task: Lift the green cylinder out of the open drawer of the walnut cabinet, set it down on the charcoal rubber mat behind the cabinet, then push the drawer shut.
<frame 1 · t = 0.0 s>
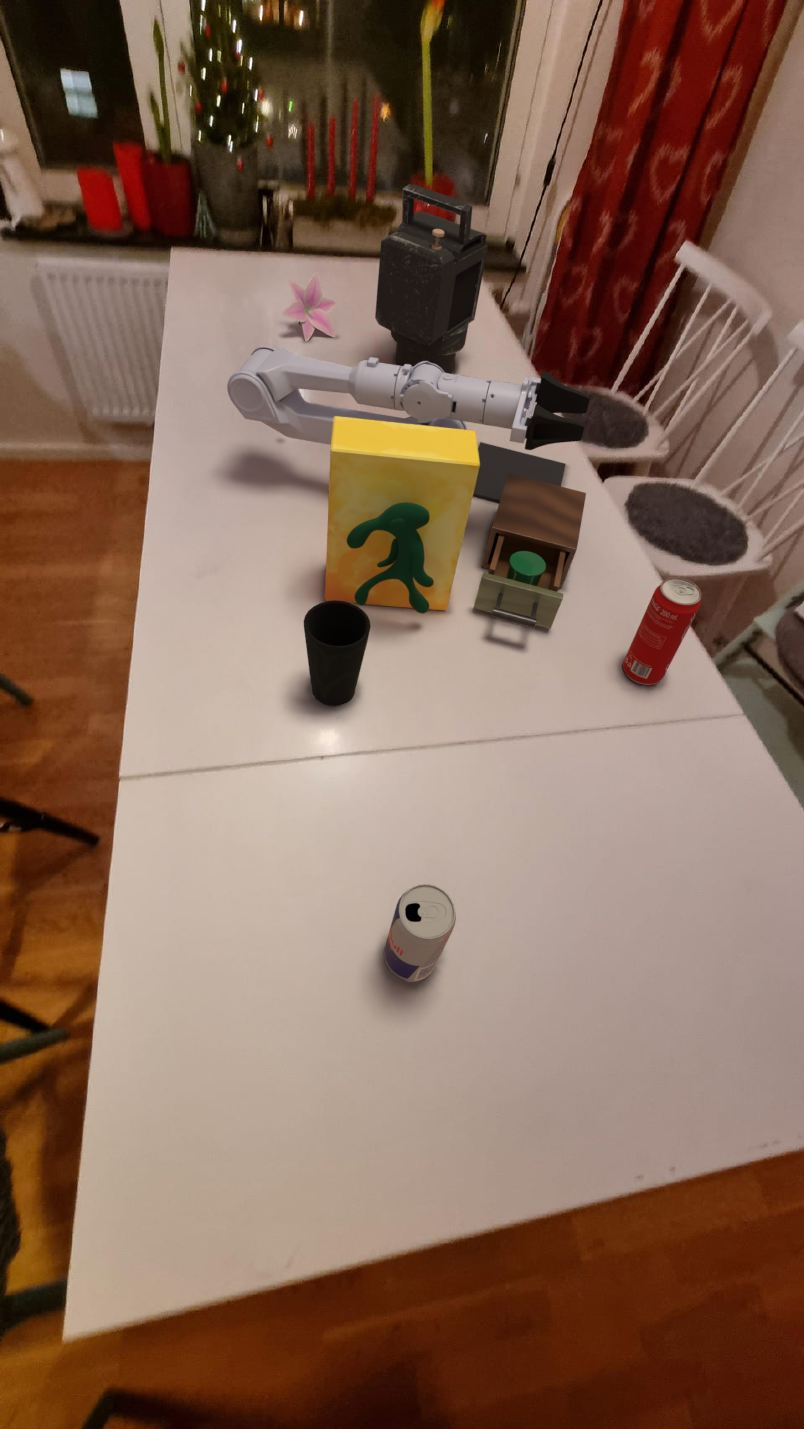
hand: (585, 418, 95), 22 cm above the table, tool horizontal, fingers open, 7 cm apart
lily: (309, 333, 146), on the table
drawer: (521, 583, 100), point 4 cm above the table, slide at 9.0 cm, touching green cylinder
cup: (333, 690, 89), on the table
cabinet: (528, 549, 111), on the table
mottled yellow carton: (386, 602, 100), on the table
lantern: (420, 367, 143), on the table
energy drink: (409, 956, 70), on the table
mat: (515, 479, 122), on the table
green cylinder: (519, 587, 102), point 2 cm above the table, touching drawer
beverage can: (638, 671, 98), on the table
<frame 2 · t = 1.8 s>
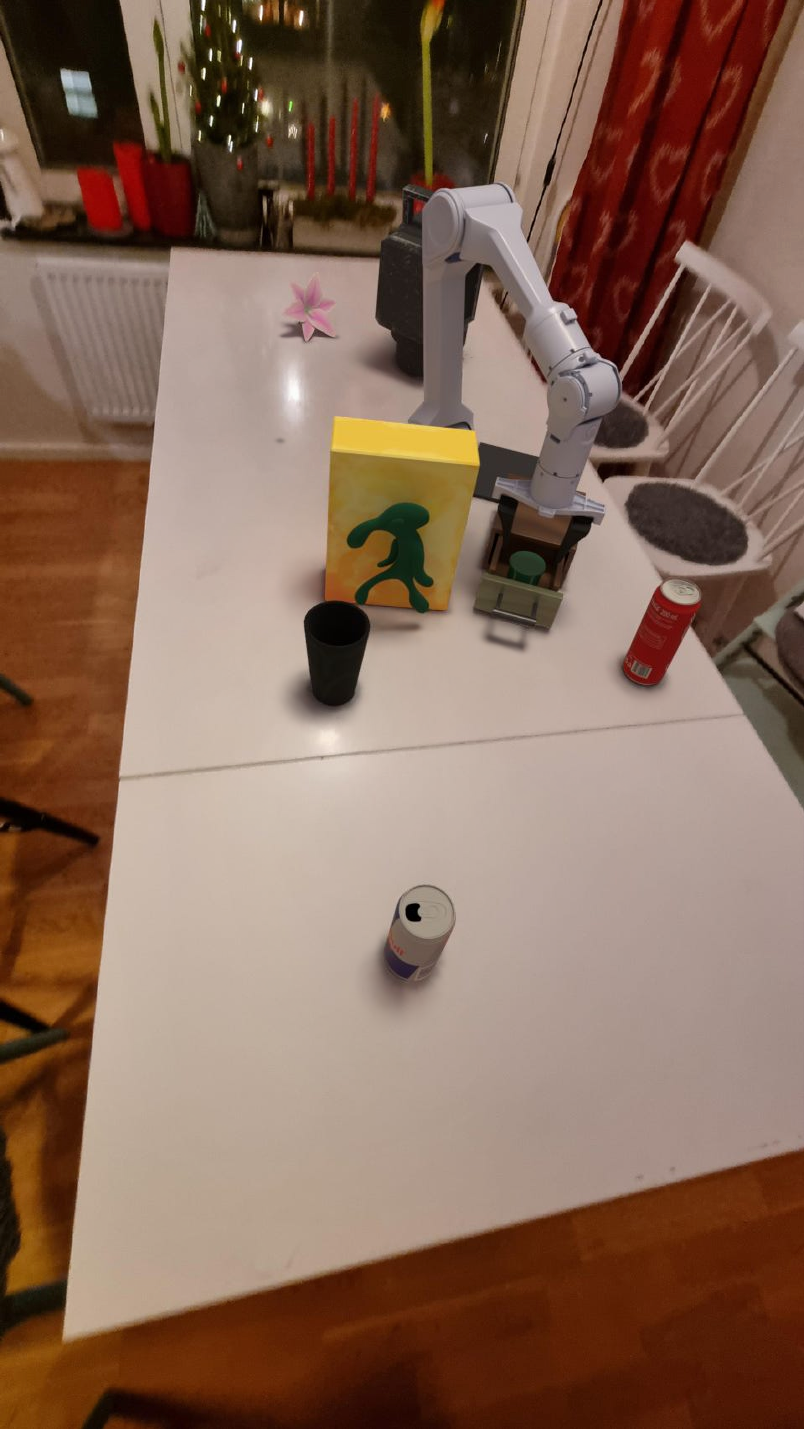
hand: (532, 551, 97), 9 cm above the table, tool pointing down, fingers open, 7 cm apart
nothing on the table moved.
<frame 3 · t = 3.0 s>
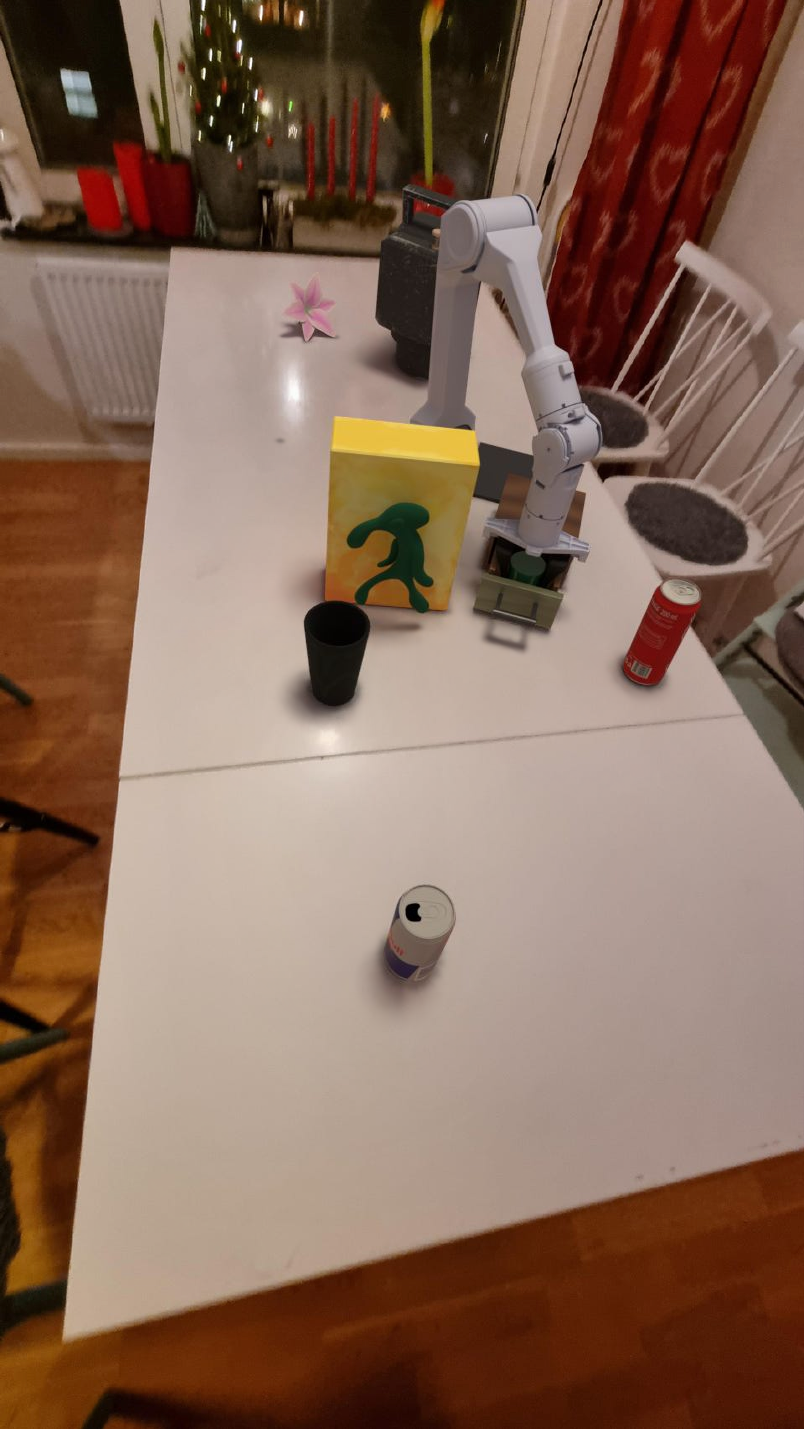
hand: (521, 585, 102), 3 cm above the table, tool pointing down, fingers closed on drawer, green cylinder, 5 cm apart
drawer: (521, 583, 100), point 4 cm above the table, slide at 9.0 cm, touching gripper, green cylinder
green cylinder: (520, 587, 102), point 2 cm above the table, touching drawer, gripper
everything else where it was.
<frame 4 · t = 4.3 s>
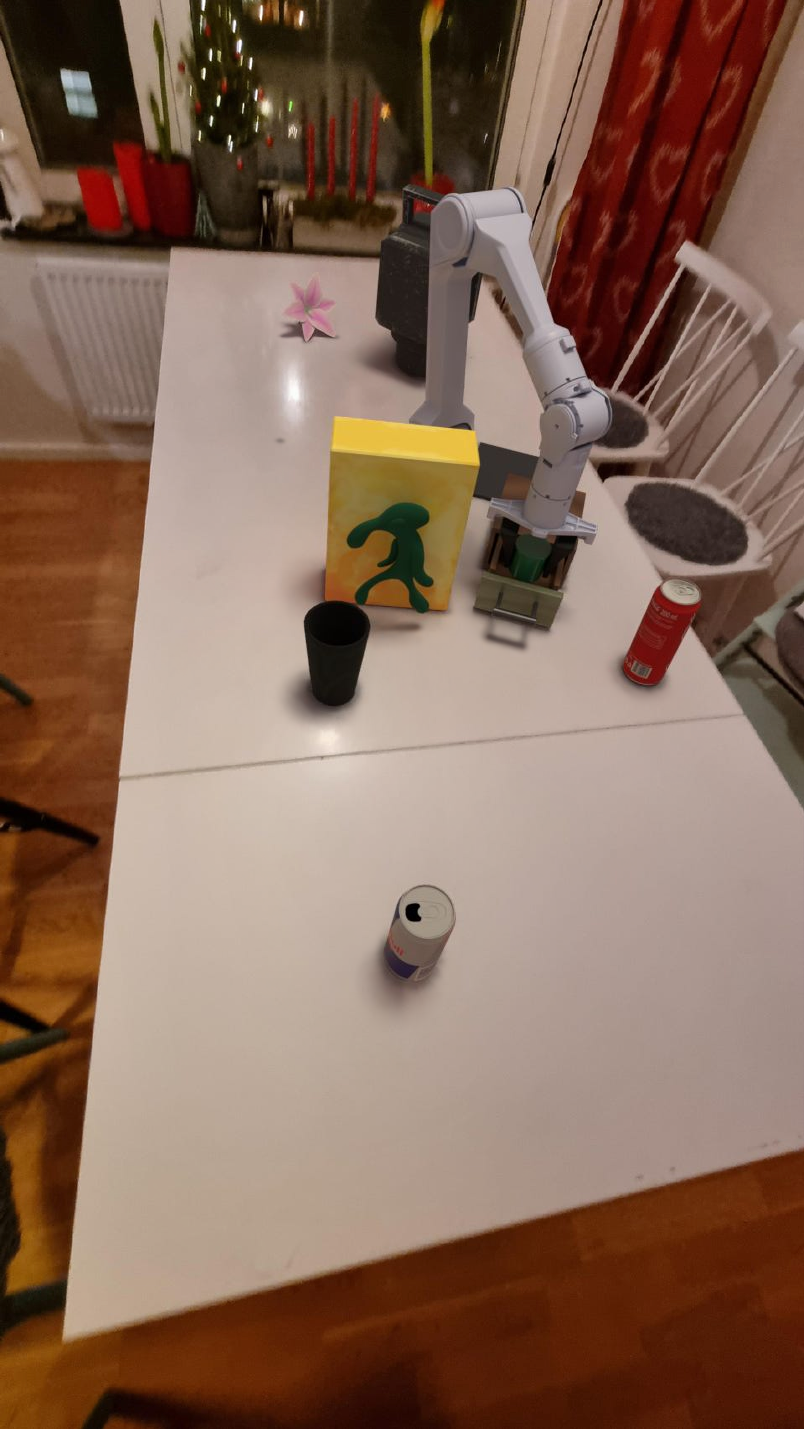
hand: (525, 568, 99), 6 cm above the table, tool pointing down, fingers closed on green cylinder, 5 cm apart
drawer: (521, 582, 100), point 4 cm above the table, slide at 8.8 cm
green cylinder: (524, 570, 100), point 5 cm above the table, touching gripper
everything else where it was.
when the fingers open (1 cm above the table, at t = 10.2 s): green cylinder stays where it is, resting on mat.
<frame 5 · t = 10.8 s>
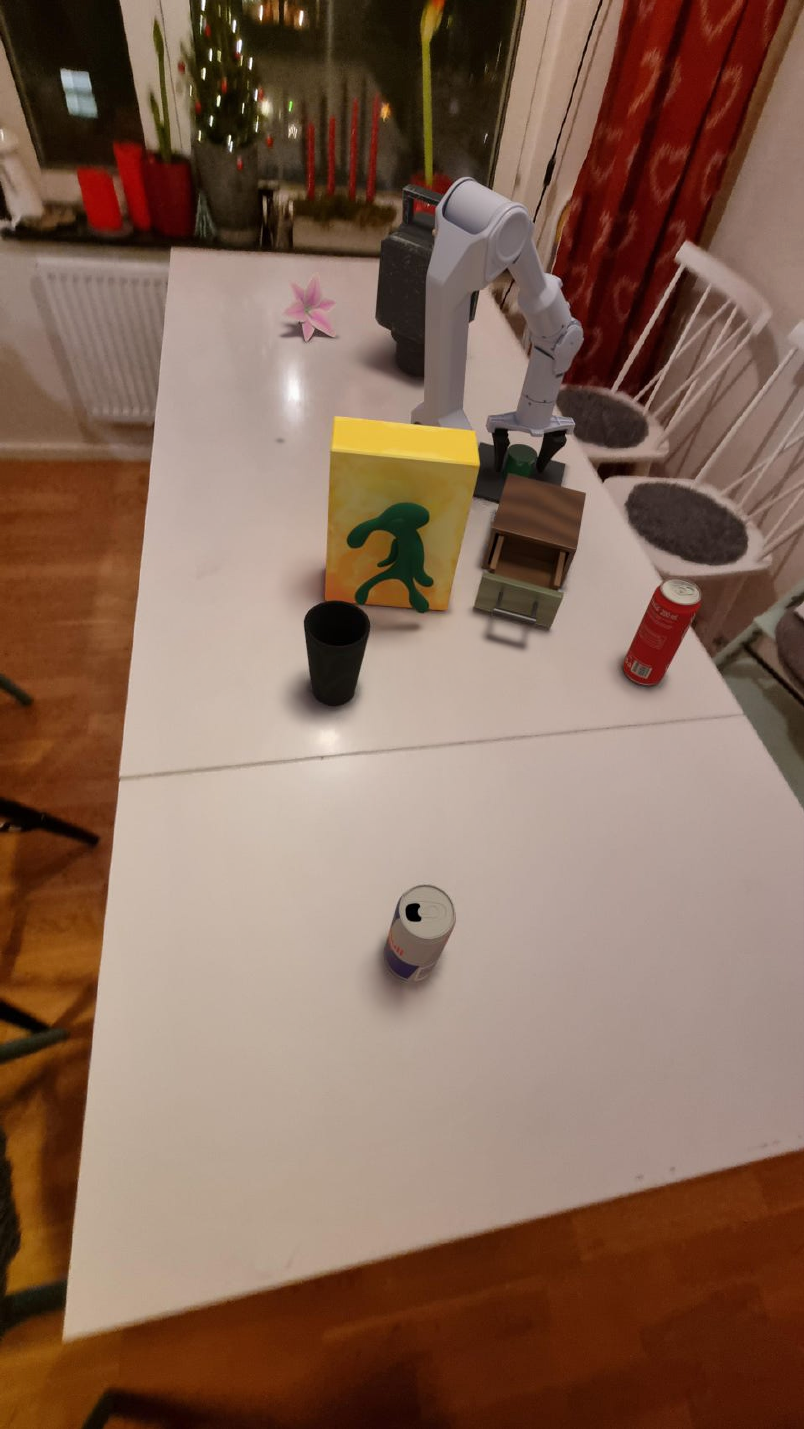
hand: (518, 469, 120), 2 cm above the table, tool pointing down, fingers open, 7 cm apart
green cylinder: (515, 476, 122), point 1 cm above the table, touching mat
everything else where it was.
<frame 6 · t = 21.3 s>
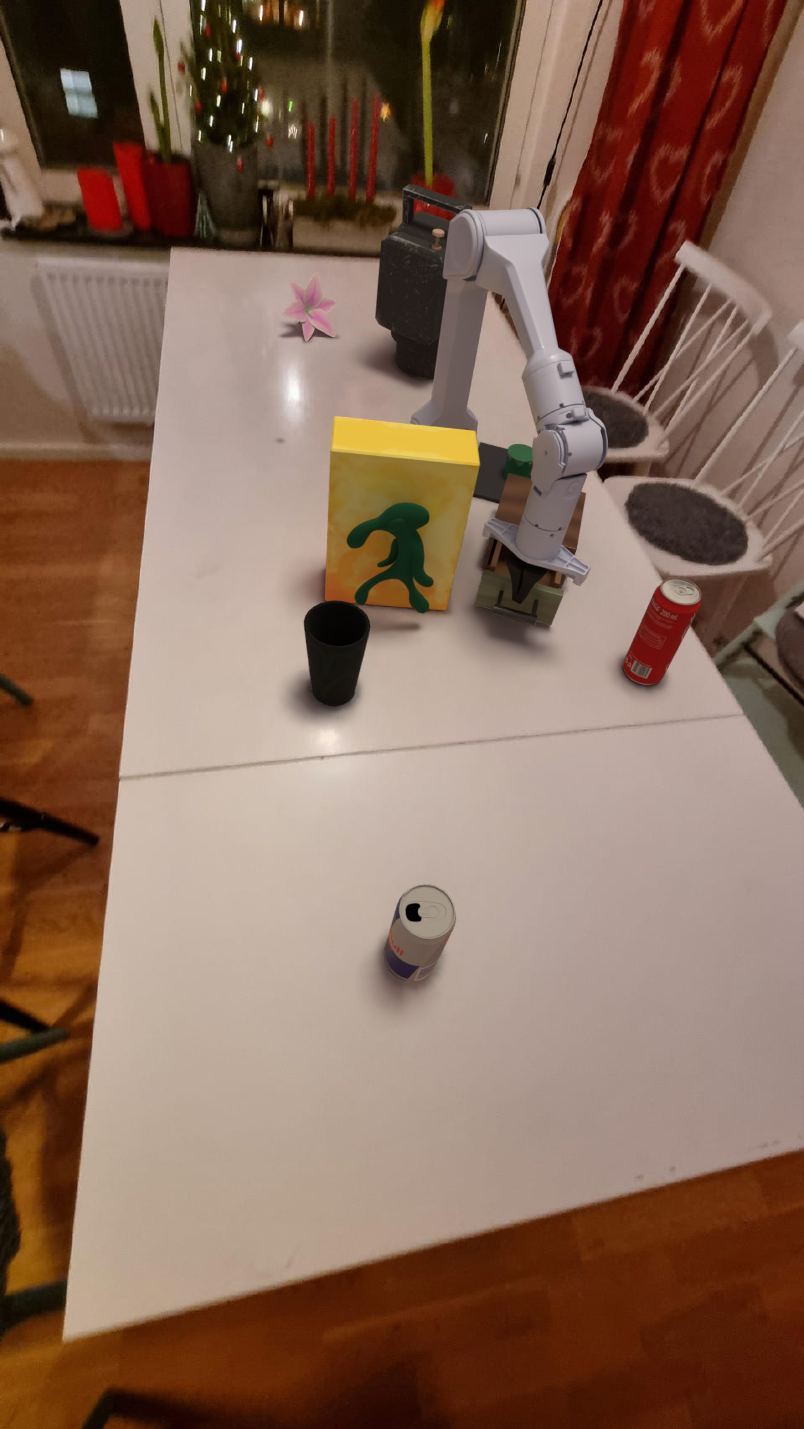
hand: (519, 598, 95), 6 cm above the table, tool pointing down, fingers closed
drawer: (522, 580, 100), point 4 cm above the table, slide at 8.3 cm, touching gripper
everything else where it was.
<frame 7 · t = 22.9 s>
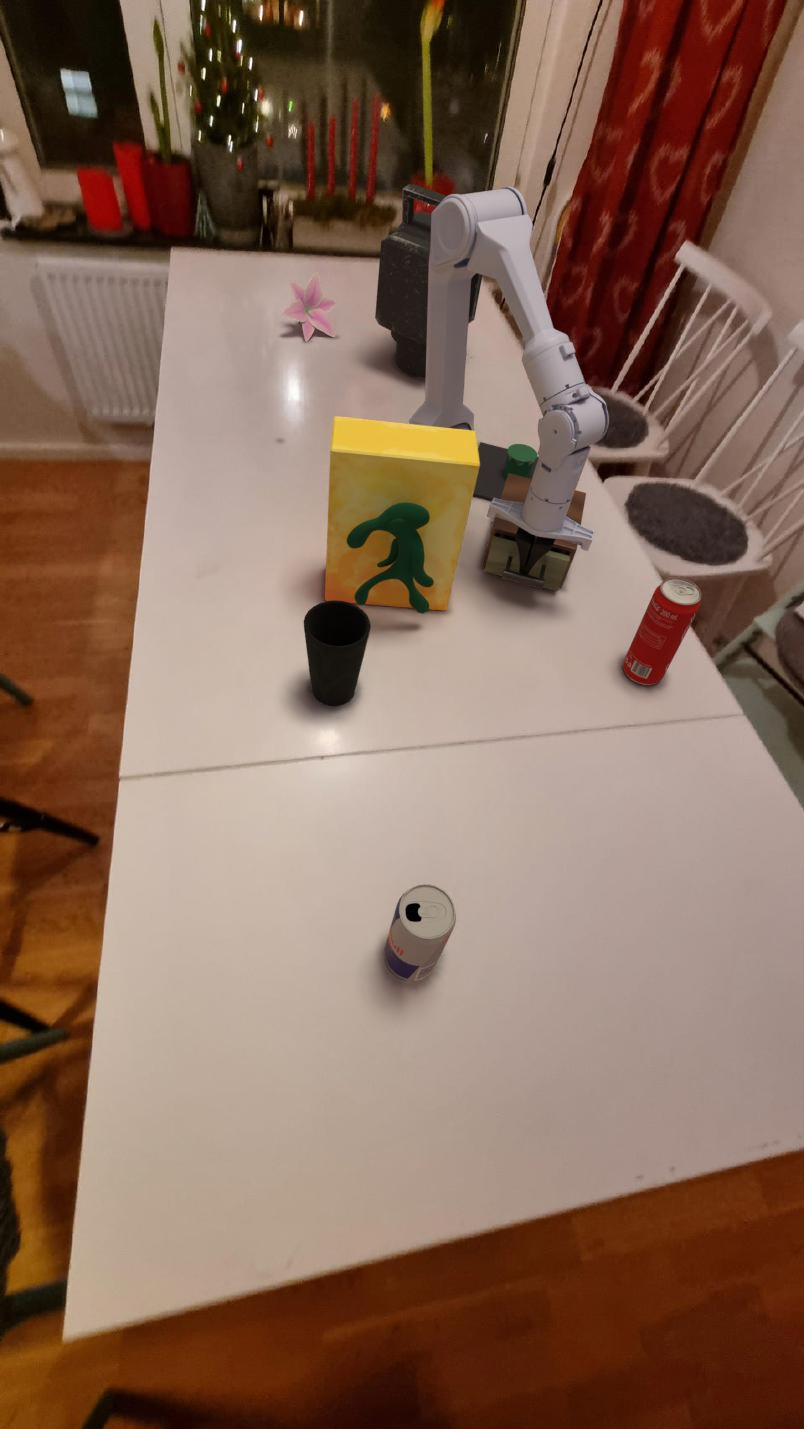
hand: (524, 570, 101), 4 cm above the table, tool pointing down, fingers closed, pressing on drawer
drawer: (530, 547, 105), point 4 cm above the table, slide at 0.6 cm, touching gripper
everything else where it was.
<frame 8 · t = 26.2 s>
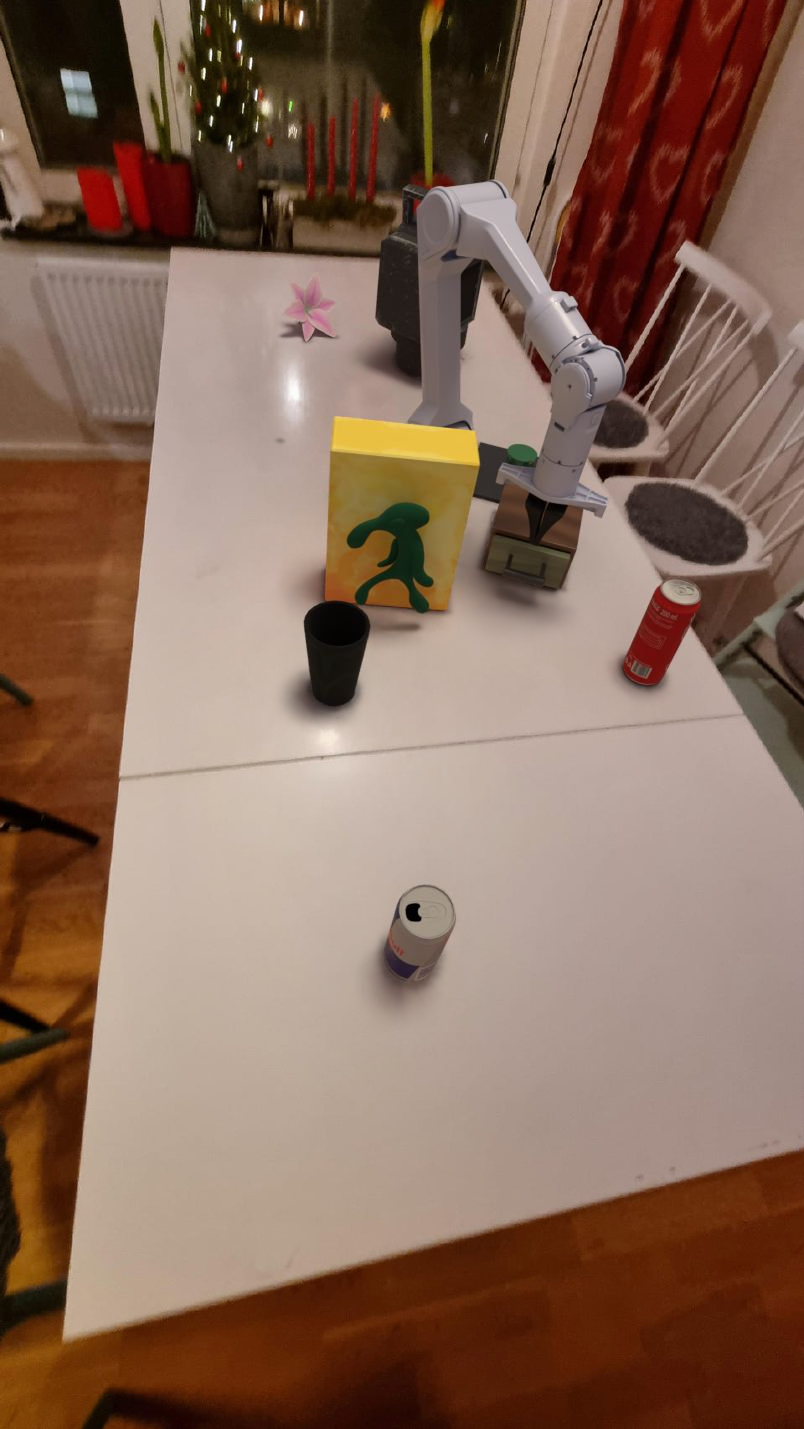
hand: (534, 541, 96), 10 cm above the table, tool pointing down, fingers closed
drawer: (530, 546, 105), point 4 cm above the table, slide at 0.2 cm
everything else where it was.
at the end: green cylinder inside the target area on the mat (0.2 cm from its centre), point 0.6 cm above the mat's base; green cylinder tilted 0°; drawer slide at 0.2 cm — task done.
